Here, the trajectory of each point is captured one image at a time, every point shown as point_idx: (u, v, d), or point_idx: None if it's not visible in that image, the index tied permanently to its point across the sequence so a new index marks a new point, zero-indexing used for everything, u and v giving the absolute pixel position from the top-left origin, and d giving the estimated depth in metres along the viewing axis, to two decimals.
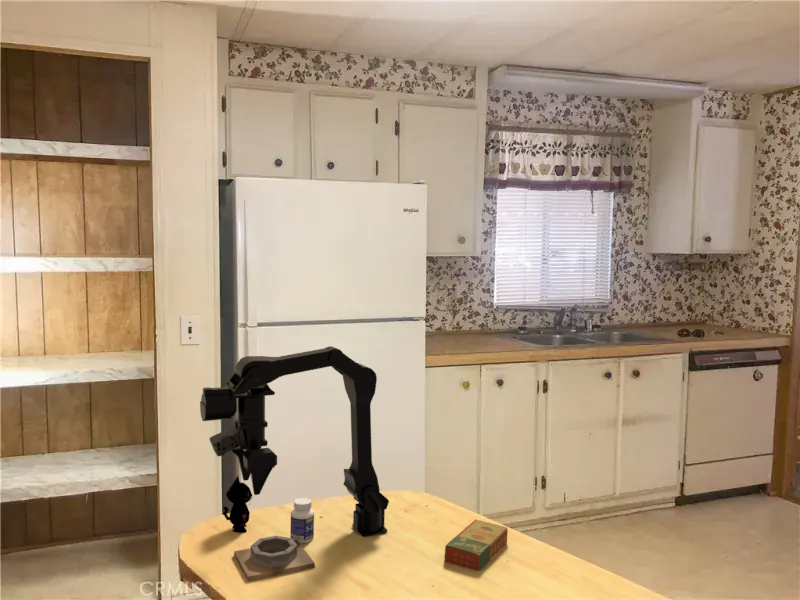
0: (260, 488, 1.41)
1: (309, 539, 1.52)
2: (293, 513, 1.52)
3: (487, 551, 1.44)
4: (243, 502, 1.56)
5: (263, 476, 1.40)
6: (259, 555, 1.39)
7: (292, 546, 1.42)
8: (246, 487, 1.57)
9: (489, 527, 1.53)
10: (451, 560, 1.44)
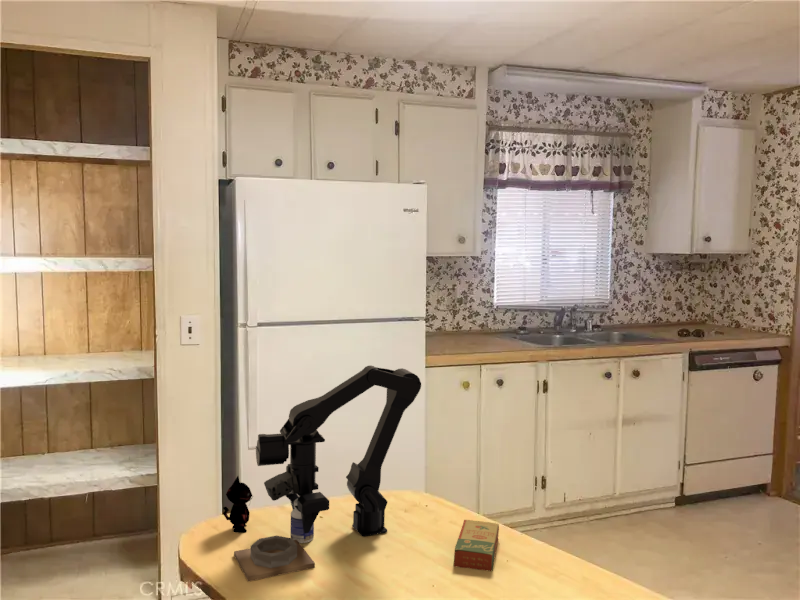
0: (309, 527, 1.51)
1: (309, 539, 1.52)
2: (293, 513, 1.52)
3: None
4: (243, 502, 1.56)
5: (313, 516, 1.50)
6: (259, 555, 1.39)
7: (292, 546, 1.42)
8: (246, 487, 1.57)
9: (483, 525, 1.54)
10: (461, 564, 1.42)
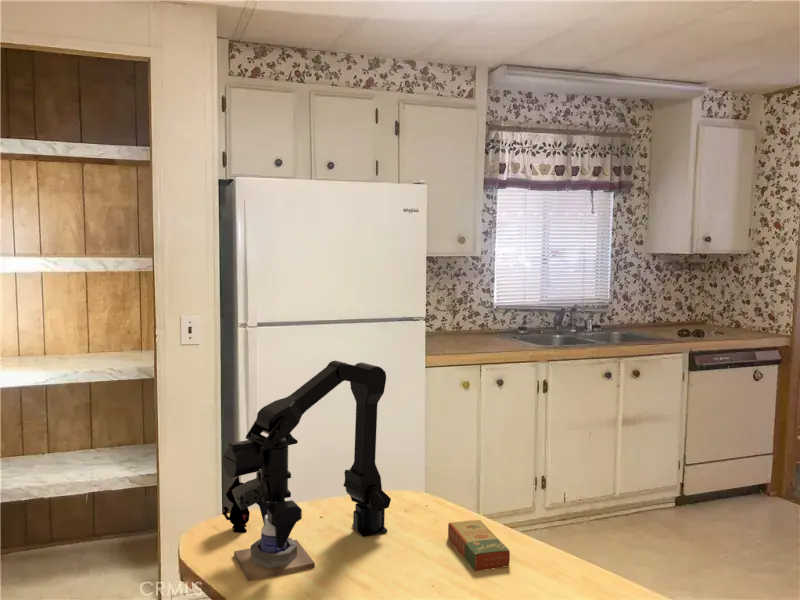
0: (284, 541, 1.38)
1: None
2: (264, 529, 1.41)
3: None
4: None
5: (287, 529, 1.37)
6: (259, 555, 1.39)
7: (292, 546, 1.42)
8: None
9: (472, 524, 1.55)
10: (482, 566, 1.41)
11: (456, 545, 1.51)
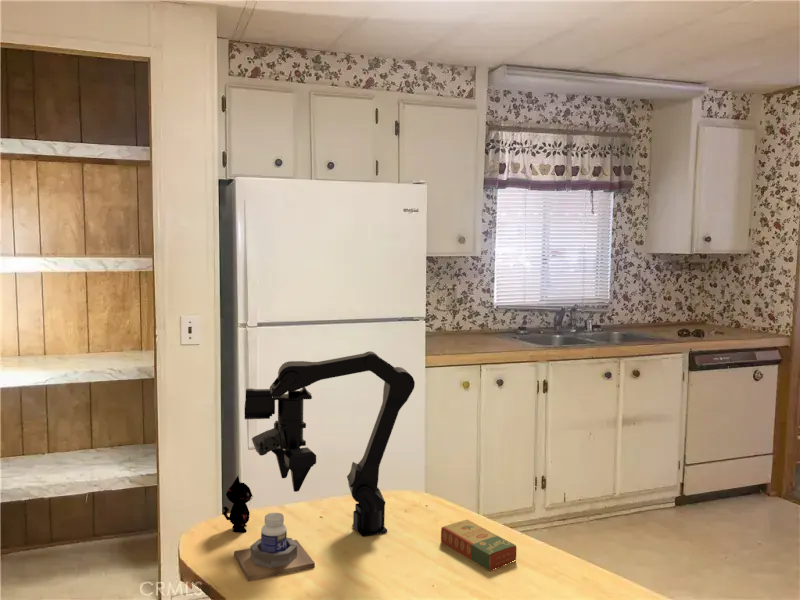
0: (299, 485, 1.50)
1: None
2: (264, 529, 1.41)
3: None
4: (243, 502, 1.56)
5: (302, 474, 1.50)
6: (259, 555, 1.39)
7: (292, 546, 1.42)
8: (246, 487, 1.57)
9: (464, 525, 1.54)
10: (495, 566, 1.42)
11: (456, 548, 1.49)
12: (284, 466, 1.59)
